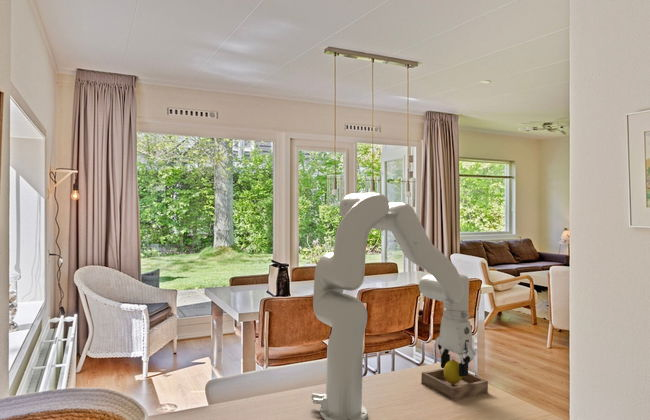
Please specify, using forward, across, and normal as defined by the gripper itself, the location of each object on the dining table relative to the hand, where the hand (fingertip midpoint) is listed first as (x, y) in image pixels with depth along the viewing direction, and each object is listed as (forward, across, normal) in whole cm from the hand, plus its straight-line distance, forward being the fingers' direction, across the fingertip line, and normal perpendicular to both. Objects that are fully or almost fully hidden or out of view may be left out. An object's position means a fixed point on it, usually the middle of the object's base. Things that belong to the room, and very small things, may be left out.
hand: (454, 371), depth 138 cm
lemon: (+5, 0, 0) cm, 5 cm away
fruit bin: (+5, 0, 0) cm, 5 cm away
